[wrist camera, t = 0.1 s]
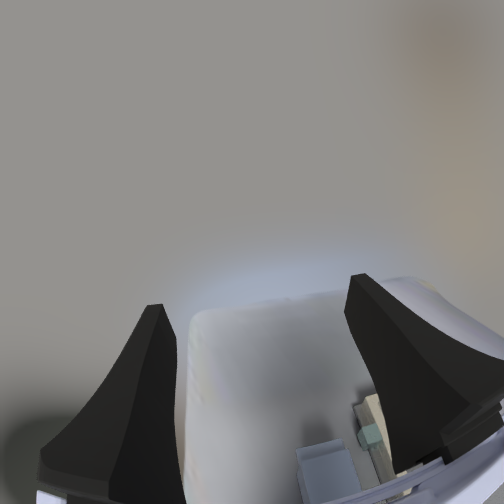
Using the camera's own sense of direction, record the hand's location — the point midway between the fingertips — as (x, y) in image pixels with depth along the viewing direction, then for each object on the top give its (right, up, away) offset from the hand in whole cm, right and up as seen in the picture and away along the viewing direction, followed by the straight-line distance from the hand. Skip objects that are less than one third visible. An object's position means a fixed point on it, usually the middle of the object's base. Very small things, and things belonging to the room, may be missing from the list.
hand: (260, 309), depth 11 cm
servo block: (+6, -20, +7) cm, 22 cm away
